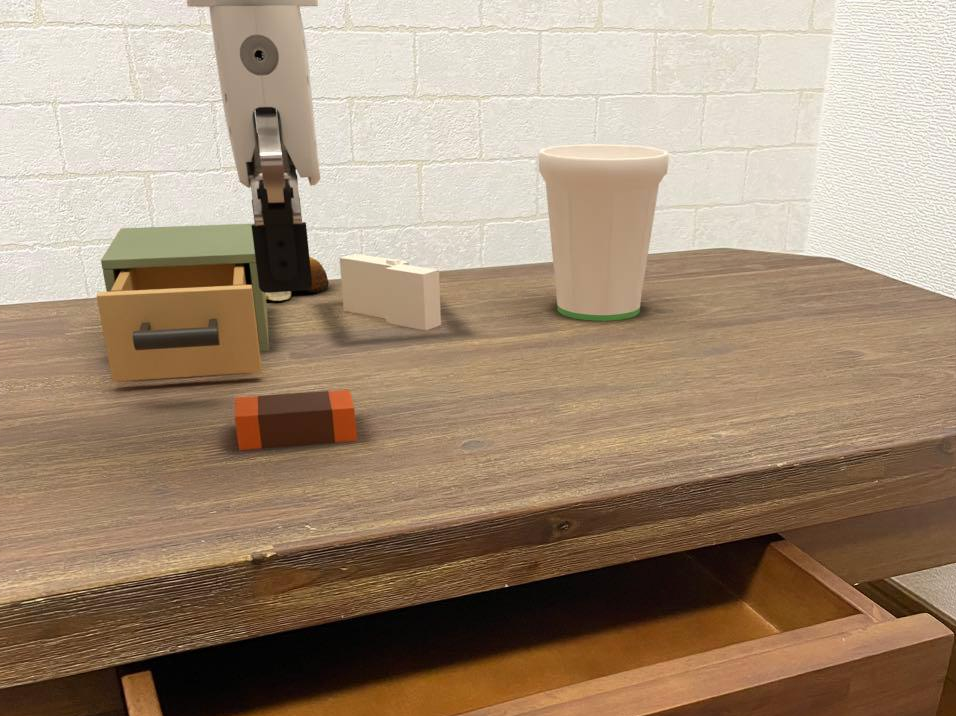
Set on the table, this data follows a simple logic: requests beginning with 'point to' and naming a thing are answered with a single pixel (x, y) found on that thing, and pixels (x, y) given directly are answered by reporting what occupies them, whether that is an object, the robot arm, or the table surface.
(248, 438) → the chocolate bar
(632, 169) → the cup
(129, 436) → the table surface
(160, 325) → the drawer
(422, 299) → the napkin holder
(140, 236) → the cabinet
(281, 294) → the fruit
